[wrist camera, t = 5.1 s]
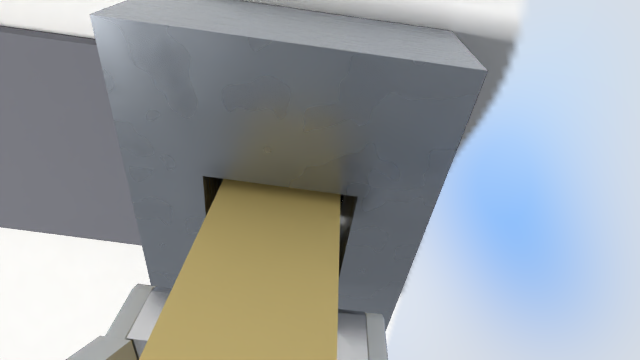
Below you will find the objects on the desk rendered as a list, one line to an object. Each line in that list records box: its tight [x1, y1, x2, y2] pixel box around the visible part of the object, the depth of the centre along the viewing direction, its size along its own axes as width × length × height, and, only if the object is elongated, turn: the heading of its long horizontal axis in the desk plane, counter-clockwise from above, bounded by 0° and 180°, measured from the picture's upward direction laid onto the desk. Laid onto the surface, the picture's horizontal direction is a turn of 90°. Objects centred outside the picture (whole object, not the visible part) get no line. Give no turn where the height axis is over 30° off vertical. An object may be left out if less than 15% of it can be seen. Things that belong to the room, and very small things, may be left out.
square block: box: [139, 179, 341, 360], centre depth 12 cm, size 4×4×10 cm
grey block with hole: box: [90, 0, 488, 331], centre depth 15 cm, size 14×10×4 cm
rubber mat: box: [0, 26, 142, 245], centre depth 16 cm, size 10×10×1 cm
